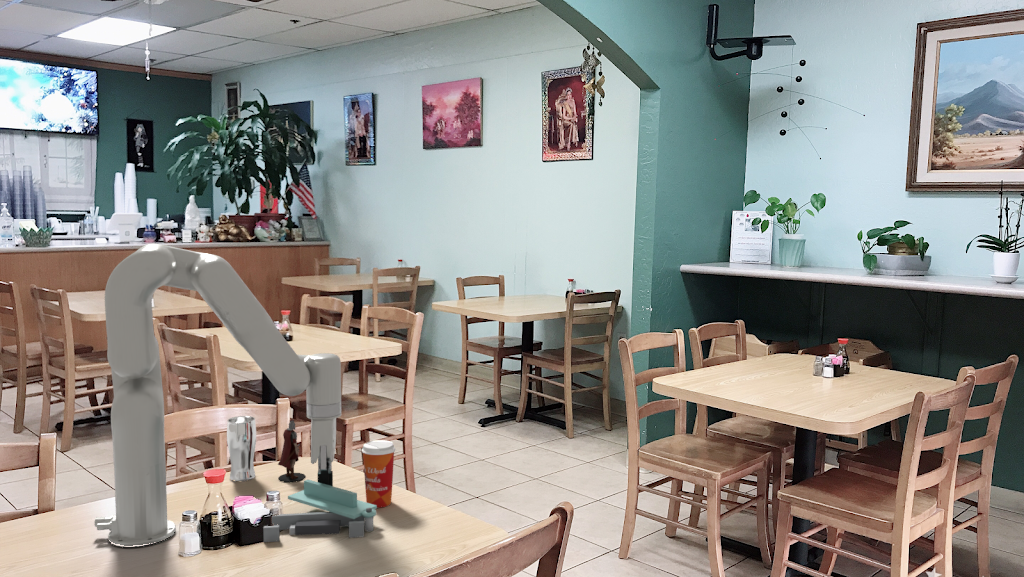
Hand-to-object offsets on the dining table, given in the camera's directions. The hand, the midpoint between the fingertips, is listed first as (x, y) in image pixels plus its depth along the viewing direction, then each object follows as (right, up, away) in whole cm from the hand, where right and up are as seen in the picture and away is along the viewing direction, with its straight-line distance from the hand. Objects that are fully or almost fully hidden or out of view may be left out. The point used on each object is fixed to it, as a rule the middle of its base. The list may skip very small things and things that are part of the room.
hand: (325, 489), depth 177 cm
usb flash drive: (+1, -6, -12) cm, 13 cm away
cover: (+4, -2, -5) cm, 7 cm away
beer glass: (-26, -3, +21) cm, 33 cm away
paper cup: (+11, -5, +5) cm, 13 cm away
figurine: (-14, -3, +21) cm, 25 cm away
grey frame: (+1, -6, -12) cm, 13 cm away
